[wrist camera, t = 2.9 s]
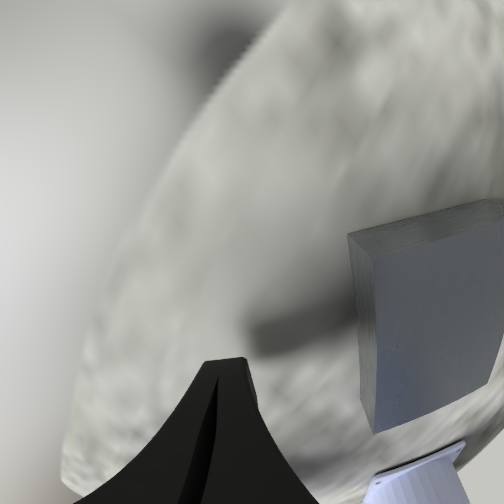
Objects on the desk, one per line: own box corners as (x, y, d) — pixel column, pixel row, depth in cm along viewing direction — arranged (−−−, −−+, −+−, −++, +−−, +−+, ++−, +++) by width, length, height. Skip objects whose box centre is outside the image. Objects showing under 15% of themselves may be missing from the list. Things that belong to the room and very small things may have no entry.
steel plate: (463, 353, 11) (487, 383, 9) (358, 393, 12) (373, 434, 10) (478, 197, 9) (521, 213, 6) (343, 230, 9) (371, 258, 7)
